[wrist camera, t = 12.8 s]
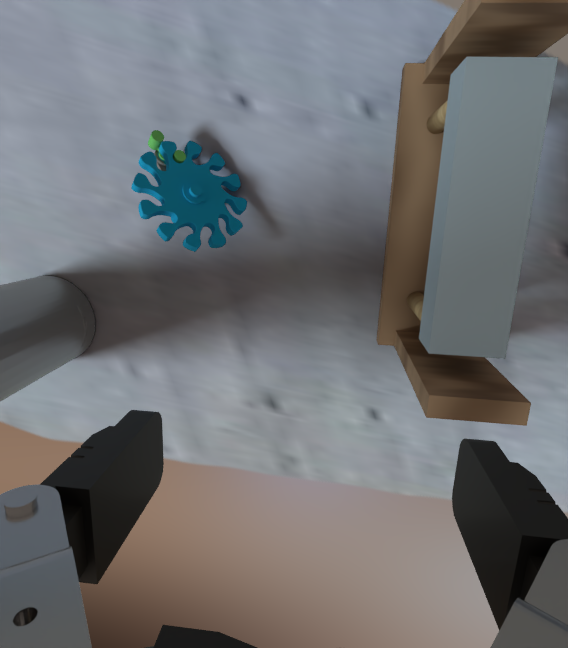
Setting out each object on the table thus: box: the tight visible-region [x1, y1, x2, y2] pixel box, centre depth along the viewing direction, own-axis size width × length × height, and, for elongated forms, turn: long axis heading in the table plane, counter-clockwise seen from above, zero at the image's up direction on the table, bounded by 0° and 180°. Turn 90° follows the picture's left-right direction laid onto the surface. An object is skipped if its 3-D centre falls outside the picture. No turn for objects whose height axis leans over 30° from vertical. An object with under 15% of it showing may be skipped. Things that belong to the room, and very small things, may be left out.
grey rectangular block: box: [419, 57, 558, 359], centre depth 29 cm, size 18×5×4 cm, turn 178°
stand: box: [377, 0, 568, 426], centre depth 32 cm, size 9×24×16 cm, turn 178°
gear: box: [132, 130, 247, 252], centre depth 40 cm, size 11×6×10 cm
